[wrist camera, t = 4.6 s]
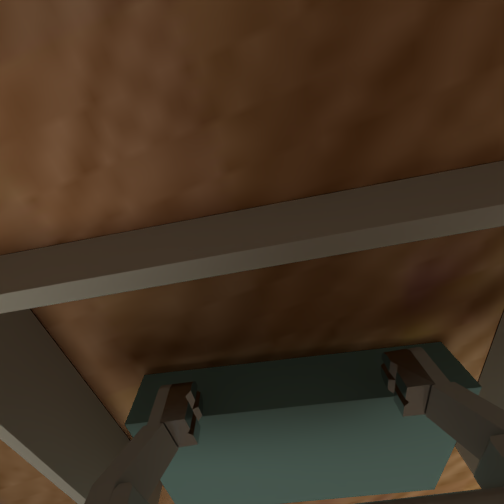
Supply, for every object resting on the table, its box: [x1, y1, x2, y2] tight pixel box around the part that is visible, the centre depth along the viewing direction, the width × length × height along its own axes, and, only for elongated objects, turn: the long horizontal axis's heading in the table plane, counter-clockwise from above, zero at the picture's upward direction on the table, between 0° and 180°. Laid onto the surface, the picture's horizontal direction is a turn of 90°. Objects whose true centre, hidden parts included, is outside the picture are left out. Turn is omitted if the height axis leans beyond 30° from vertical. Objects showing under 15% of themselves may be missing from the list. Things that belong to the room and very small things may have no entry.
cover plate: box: [125, 342, 482, 504], centre depth 15 cm, size 10×16×3 cm, turn 97°
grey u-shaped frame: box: [0, 161, 504, 504], centre depth 12 cm, size 20×23×4 cm
